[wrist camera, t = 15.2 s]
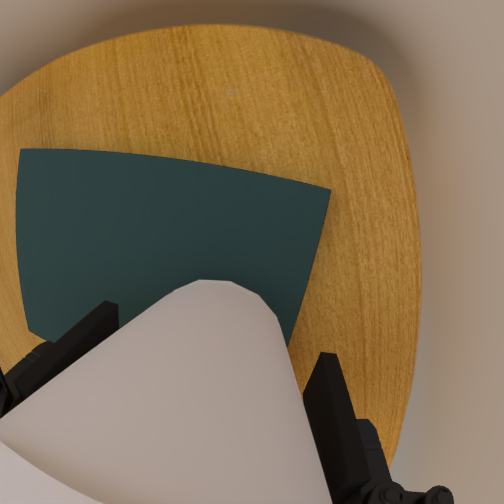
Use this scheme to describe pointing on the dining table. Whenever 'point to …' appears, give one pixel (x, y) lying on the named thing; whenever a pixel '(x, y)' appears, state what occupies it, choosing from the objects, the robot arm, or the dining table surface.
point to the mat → (156, 234)
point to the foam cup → (170, 414)
